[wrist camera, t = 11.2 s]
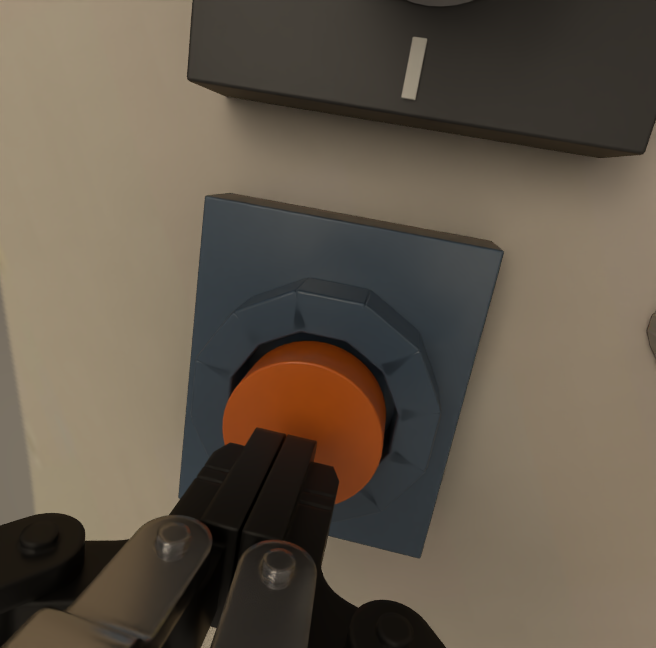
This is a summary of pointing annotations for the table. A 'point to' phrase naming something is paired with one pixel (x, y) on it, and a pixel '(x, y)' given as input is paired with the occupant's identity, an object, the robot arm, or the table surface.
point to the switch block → (343, 337)
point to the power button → (314, 408)
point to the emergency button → (652, 333)
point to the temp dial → (439, 2)
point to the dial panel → (444, 65)
